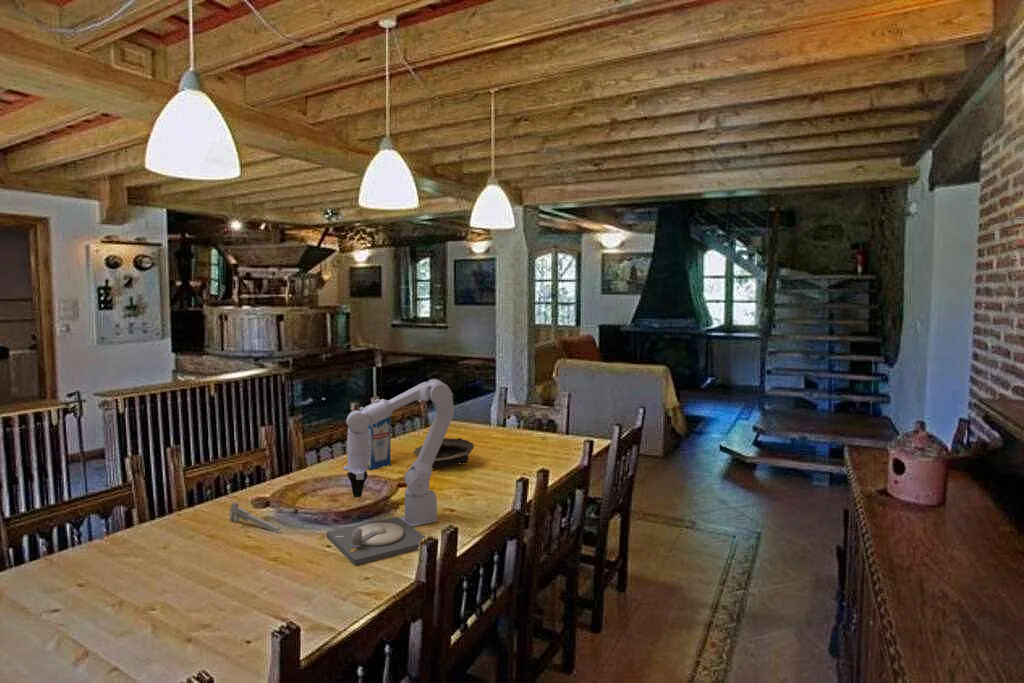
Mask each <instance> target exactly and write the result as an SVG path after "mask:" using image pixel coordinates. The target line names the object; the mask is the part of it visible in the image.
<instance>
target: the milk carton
mask: <svg viewBox="0 0 1024 683" xmlns="http://www.w3.org/2000/svg"><path fill="white" fill-rule="evenodd" d="M391 421H392V420H391V416H390V417H387V418H385V419H383V420H381V421H379V422H377V423H375V424H373V423H372V424H373V425H369V426H368V428H367V430H366V435H367V465H368V469H370V470H369V471H371V470H372V471H374V470H373V469H376V470H378V469H377V468H379V469H381V468H380V467H383V466H386V467H388V466H387V465H390V466H391V442H392V440H391V434H392V433H391V431H392V430H391V427H392V426H391V424H392V422H391ZM371 422H372V421H371ZM383 468H384V467H383ZM368 469H367V470H368Z"/></svg>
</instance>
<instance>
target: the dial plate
mask: <svg viewBox="0 0 1024 683" xmlns="http://www.w3.org/2000/svg"><path fill="white" fill-rule="evenodd" d="M400 518H401V517H399V516H394V517H390V518H389V517H388V518H386V519H385V518H384V519H379V520H375V521H369V522H366V523H365V522H364V523H361V524H357V525H352V526H348V527H347V526H346V527H342V528H338V529H334V530H329V531H326V532H325V533H326V535H325V536H326V538H327V540H328V541H330V542H331V543H332V545H334V546H335V547H336V548H337V549H338V550H339V551H340V552H341V554H343V555H344V557H346V558H347V559H348V560H349V561H350V562H351V563H352V565H353V566H356V567H357V566H359V565H363V564H366V563H367V564H368V563H371V562H375V561H379V560H382V559H386V558H391V557H394V556H398V555H403V554H406V553H409V552H414V551H418V547H419V542H420V541H421V540H422V539H423V538H425V537H426V536H425V535H424V534H422V533H421V532H420V531H418V530H417V529H415V527H411V526H410V525H408V524H407V523H406V522H404V521H403V520H401V519H400ZM371 523H393V524H396V525H399V526H401V527H402V528H403V536H402V538H401V539H399V540H398V541H396V542H393V543H390V544H386V545H378V546H370V545H362V544H360V545H353V538H352V533H353V530H354V529H356V528H358V527H360V526H363V525H366V524H371Z"/></svg>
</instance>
